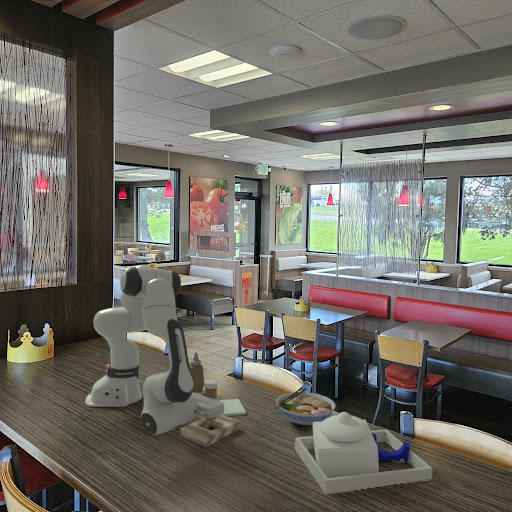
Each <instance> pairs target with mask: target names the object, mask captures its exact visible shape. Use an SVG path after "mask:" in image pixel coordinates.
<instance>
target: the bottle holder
mask: <svg viewBox="0 0 512 512" xmlns="http://www.w3.org/2000/svg"><path fill="white" fill-rule="evenodd" d="M208 428H212V430H211V429H208ZM238 430H240V420H238V419H234V418H232V417H230V416H224V415H219V416H217V418H216V419H215V420H212V421H208V420H205V419H204V417H202V418H200V419H198V420H196V421H194V422H191V423H189V424H186V425H185V426H183V427H181V428H180V430H179V431H180V436H179V437H180V438H182V439H184V440H187V441H189V442H192V443H195V444H197V445H199V446H201V447H204V448H208V447H209V446H212V445H213V444H215V443H216V442H218V441H220V440H222V439H224V438H225V437H227V436H229V435H231V434H233V433H235V432H237V431H238Z"/></svg>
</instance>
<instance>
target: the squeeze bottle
mask: <svg viewBox="0 0 512 512" xmlns="http://www.w3.org/2000/svg"><path fill="white" fill-rule="evenodd" d="M189 366H190V370H191V373H192V375H193V378H194V390H193V392H194V393H203V390H204V388H205V377H204V367H203V365H202V360H201V359H199V355H198V351H195V352H194V355H193V356H192V359H191V360H190V361H189Z"/></svg>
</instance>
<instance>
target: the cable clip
mask: <svg viewBox="0 0 512 512" xmlns="http://www.w3.org/2000/svg"><path fill="white" fill-rule="evenodd" d="M372 436H373V438H374V440H375V442H376V444H377V448H378V461H382V462H386V463H387V462H388V461H389V460H394V461H400V459H404V461H405V462H406V463H408V462H407V458H408V454H409V450H411V449H410V448H411V446H410V443H409V442H405V441H403V442H402V443H403V445H402V447H401V448H400V449H398V450H396V451H394V450H392V451H390V450H385V449H384V448H382V447H381V446H380V445H379V443H377V441H376V439H377V437H376V434H373V433H372Z"/></svg>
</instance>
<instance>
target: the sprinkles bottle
mask: <svg viewBox="0 0 512 512" xmlns="http://www.w3.org/2000/svg"><path fill="white" fill-rule="evenodd" d="M204 392H205V396H206V397H209V398H212V399H214V397H215V396H218V381H217V380H214V379H208V380H204ZM203 418H204V419H205V420H208V421H212V420H215V419H216V418H217V416H216V417H213V418H205V417H203Z"/></svg>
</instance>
